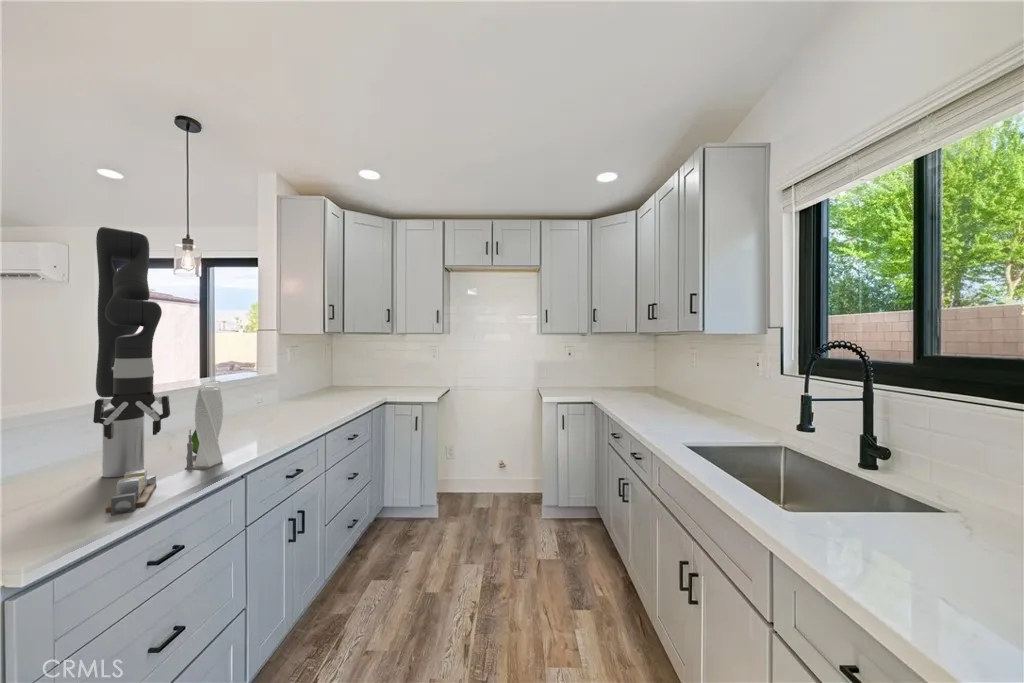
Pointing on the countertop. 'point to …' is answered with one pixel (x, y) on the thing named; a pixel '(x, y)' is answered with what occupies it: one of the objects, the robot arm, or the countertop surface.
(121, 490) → the gray and yellow block
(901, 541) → the countertop surface
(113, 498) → the coupling stand
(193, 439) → the avocado
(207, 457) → the skyscraper
